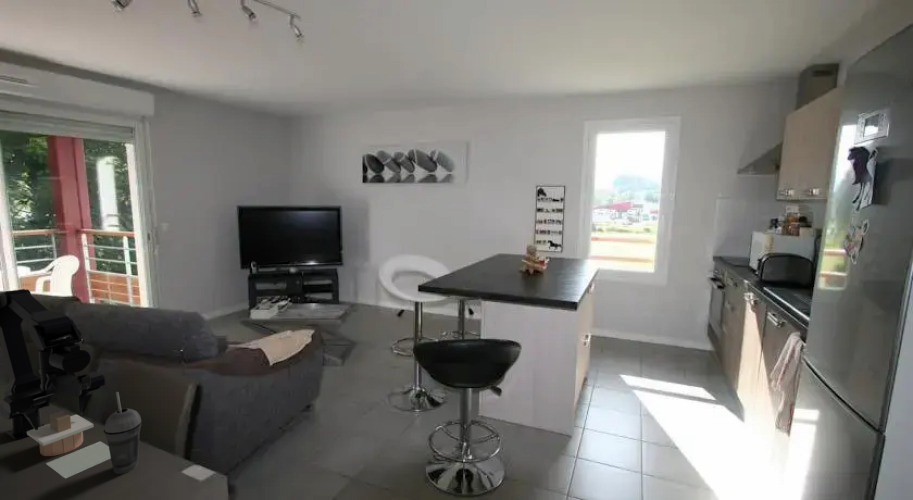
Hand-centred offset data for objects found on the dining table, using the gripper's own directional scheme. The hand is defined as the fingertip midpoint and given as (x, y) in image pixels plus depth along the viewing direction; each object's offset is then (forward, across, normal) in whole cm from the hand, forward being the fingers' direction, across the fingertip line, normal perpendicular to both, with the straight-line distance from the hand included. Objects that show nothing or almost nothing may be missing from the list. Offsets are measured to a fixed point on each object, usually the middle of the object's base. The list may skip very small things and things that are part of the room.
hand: (60, 421), depth 107 cm
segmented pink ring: (+8, 0, 0) cm, 8 cm away
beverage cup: (+8, +4, -24) cm, 26 cm away
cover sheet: (+3, 0, 0) cm, 3 cm away
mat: (+8, 0, -11) cm, 13 cm away
